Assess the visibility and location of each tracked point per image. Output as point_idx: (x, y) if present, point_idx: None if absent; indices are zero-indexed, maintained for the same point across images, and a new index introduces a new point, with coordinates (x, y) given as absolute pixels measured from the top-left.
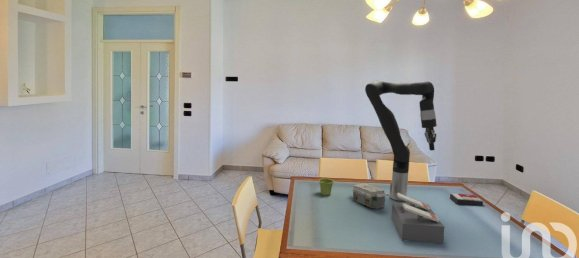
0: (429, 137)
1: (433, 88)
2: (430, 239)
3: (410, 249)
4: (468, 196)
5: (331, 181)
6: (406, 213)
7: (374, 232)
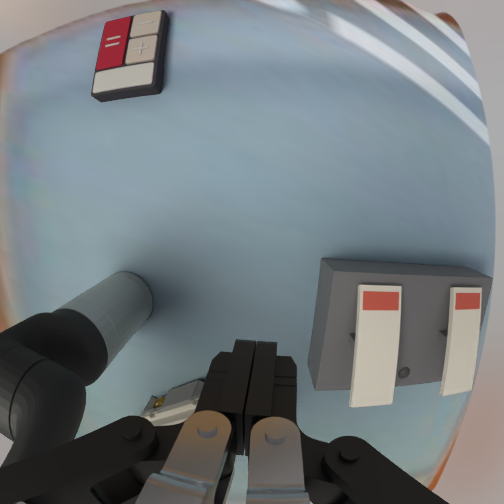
0: (84, 480)
1: None
2: None
3: None
4: (122, 41)
5: None
6: (413, 362)
7: (403, 406)
